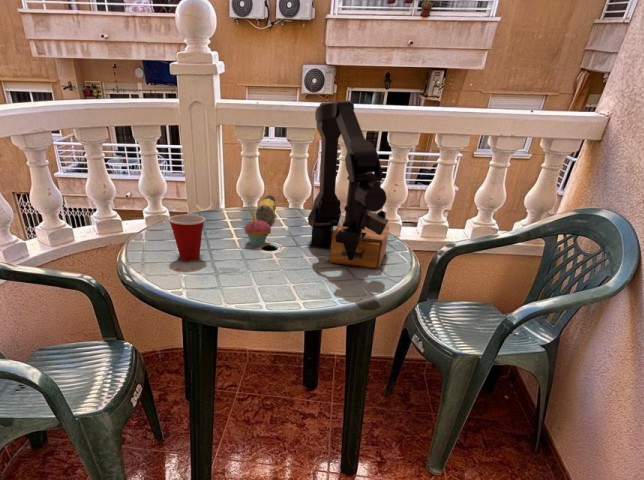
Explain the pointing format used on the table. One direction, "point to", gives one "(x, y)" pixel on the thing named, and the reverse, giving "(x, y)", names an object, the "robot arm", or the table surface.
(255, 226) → the cupcake
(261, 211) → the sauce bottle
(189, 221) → the plastic cup
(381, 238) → the cabinet
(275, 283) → the table surface
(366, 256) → the wooden drawer
